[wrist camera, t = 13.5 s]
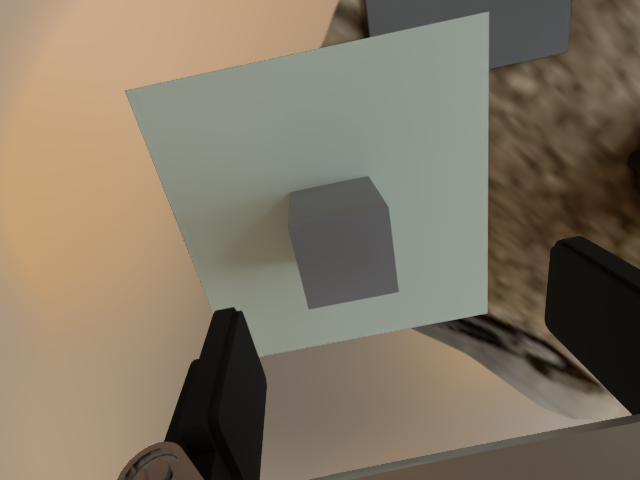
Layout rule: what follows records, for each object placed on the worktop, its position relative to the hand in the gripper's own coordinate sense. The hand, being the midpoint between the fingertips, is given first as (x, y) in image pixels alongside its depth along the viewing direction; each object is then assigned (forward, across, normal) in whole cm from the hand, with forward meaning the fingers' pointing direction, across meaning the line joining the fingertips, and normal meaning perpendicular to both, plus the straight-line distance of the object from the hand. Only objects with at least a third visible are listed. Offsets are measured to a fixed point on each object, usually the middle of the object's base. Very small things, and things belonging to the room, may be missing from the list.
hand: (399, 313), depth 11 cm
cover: (+27, +1, 0) cm, 27 cm away
